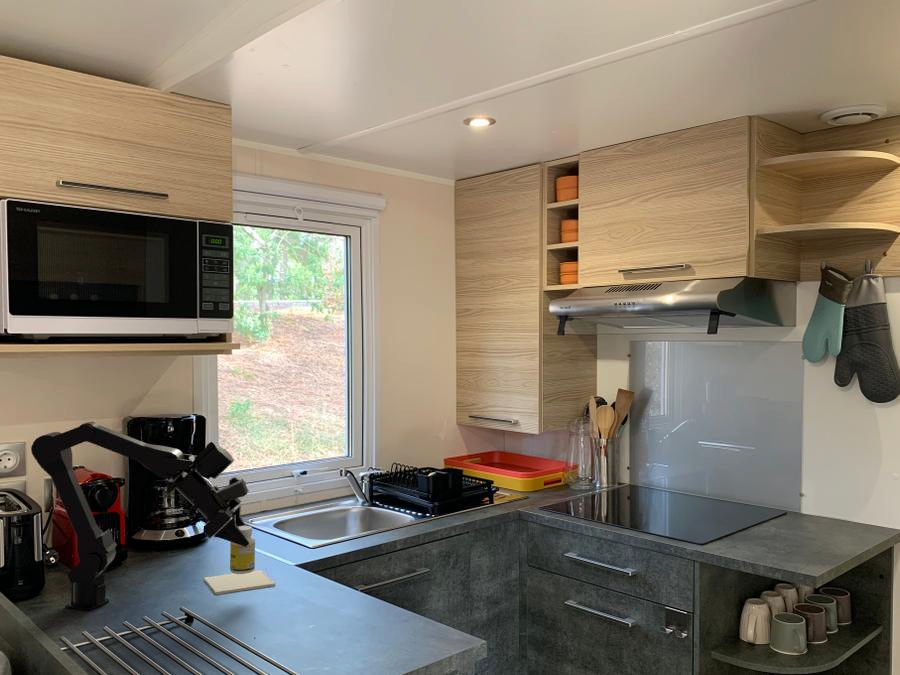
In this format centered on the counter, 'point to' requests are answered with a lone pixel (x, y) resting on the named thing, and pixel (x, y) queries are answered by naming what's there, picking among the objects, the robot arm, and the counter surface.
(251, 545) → the supplement bottle
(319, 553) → the counter surface
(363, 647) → the counter surface
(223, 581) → the rubber mat
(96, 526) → the robot arm
